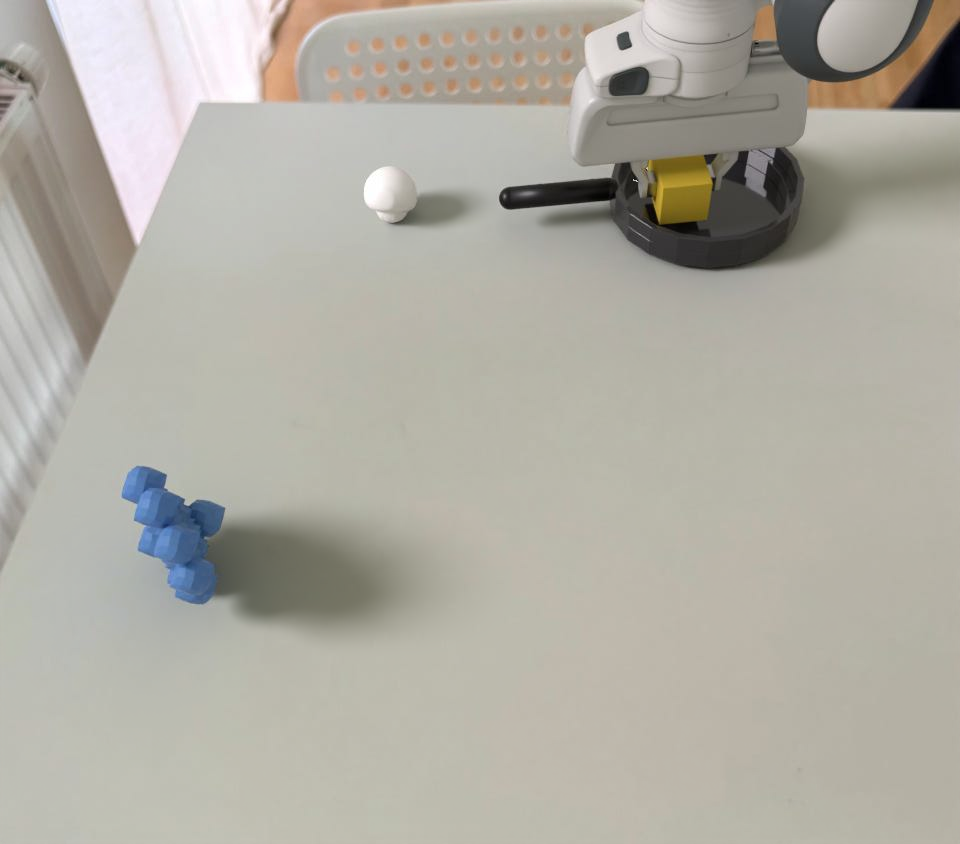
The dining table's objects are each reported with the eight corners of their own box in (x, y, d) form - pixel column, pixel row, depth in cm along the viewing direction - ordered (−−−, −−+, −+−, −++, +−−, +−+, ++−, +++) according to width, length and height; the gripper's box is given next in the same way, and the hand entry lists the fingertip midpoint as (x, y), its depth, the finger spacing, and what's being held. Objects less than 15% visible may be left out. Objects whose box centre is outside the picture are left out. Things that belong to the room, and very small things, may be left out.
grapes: (277, 609, 81) (240, 513, 71) (192, 653, 79) (142, 561, 69) (213, 503, 87) (171, 400, 77) (133, 541, 85) (79, 441, 75)
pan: (772, 143, 108) (778, 111, 105) (816, 262, 99) (825, 230, 96) (598, 159, 108) (599, 128, 105) (626, 280, 98) (628, 249, 96)
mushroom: (361, 230, 104) (354, 186, 100) (375, 197, 106) (368, 152, 102) (412, 235, 103) (407, 191, 99) (424, 202, 106) (420, 157, 101)
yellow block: (693, 175, 103) (698, 138, 100) (707, 220, 100) (713, 183, 96) (646, 180, 103) (650, 143, 100) (659, 225, 100) (663, 188, 96)
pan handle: (616, 190, 102) (617, 172, 100) (619, 204, 101) (621, 186, 99) (498, 201, 102) (497, 183, 100) (500, 215, 101) (499, 197, 99)
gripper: (813, 13, 90) (783, 157, 102) (565, 37, 90) (563, 179, 102) (833, 57, 87) (800, 201, 98) (576, 82, 87) (572, 223, 98)
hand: (678, 190), depth 100 cm, fingers closed on yellow block, 4 cm apart
